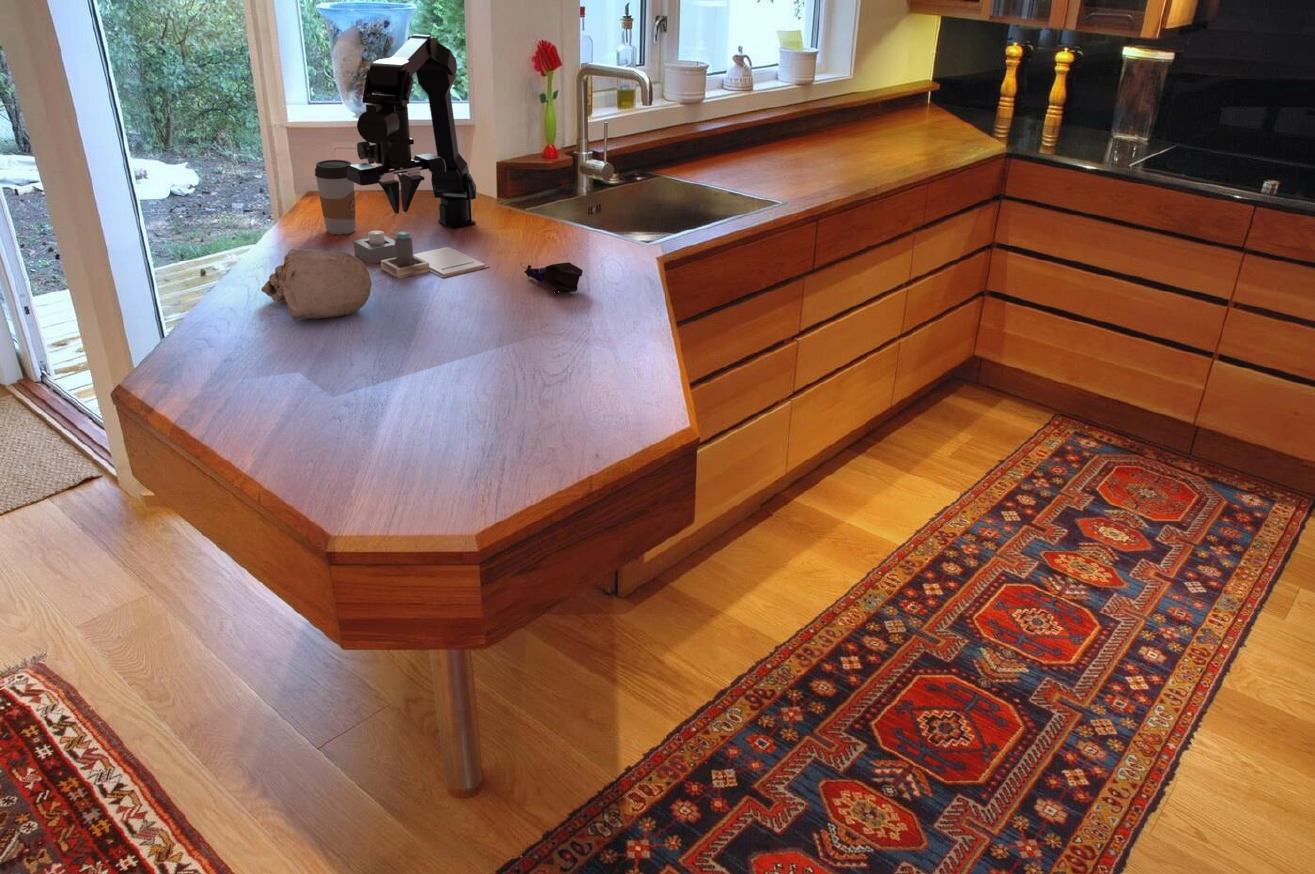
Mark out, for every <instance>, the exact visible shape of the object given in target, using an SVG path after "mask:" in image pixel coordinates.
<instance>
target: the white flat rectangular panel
mask: <svg viewBox="0 0 1315 874" xmlns="http://www.w3.org/2000/svg"><path fill="white" fill-rule="evenodd" d="M413 255H414V256H416V257H418V258H420V259H422V260H424V261H426V262H428V263H429V268H430V270H429V272H428V273H431V274H433V275H436V276H437V277H439V278H441V279H447V278H451V277H455V276H459V275H463V274H468V273H472V272H476V271H479V270H483V269H488V268H490V265H488V264H485V263H483V262H481V261H480V260H477V259H475V258H472V257H471V256H469V255H466V254H464V253H462V252H459V251H458V250H455V249H453V248H451V247H449V246H446V247H440V248H437V249H431V250H427V251H423V252H418V253H413Z"/></svg>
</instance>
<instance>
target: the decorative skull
mask: <svg viewBox="0 0 1315 874" xmlns="http://www.w3.org/2000/svg"><path fill="white" fill-rule="evenodd" d="M283 259H284V260H283V264H281V265H277V266H276V267H275V268H274V273H271V274H270V275H269V276H268V281H266V283H265V284H264V285H263V286H262V287H261V292H262V293H265V294H266V295H267V296H268V297H269V298H270V297H271V299H272V301H273V302H274V303H279V302H282V303H286V307H287V309H288V310H289V314H290V316H291V318H292V319H294V320H303V319H304V320H305V319H309V320H310V319H326V318H327V319H328V318H333V317H341V316H346V315H351V314H354V313H357V312H358V311H360V310H361V309H362V308H363V307H364V306H365V305H366V303H367V301H368V300H369V298H370V296H371V291H372V284H373V283H372V279H371V275H370V272H369V269H368V268H367V266H366V265H365V263H364V262H363V261H362V260H361V258H360V257H358V256H356V255H353V254H351V253H349V252H343V251H331V250H330V251H329V250H323V249H319V248H315V247H306V248H303V249H294V248H291V249H290V250H288V252H287V254H286V255H285V256H284V258H283Z"/></svg>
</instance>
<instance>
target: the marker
mask: <svg viewBox="0 0 1315 874" xmlns="http://www.w3.org/2000/svg"><path fill="white" fill-rule="evenodd" d="M394 241H395V250H396V262H397V267H399V268H402V267H407V266H411V265H414V259H413V254H414V249H413V248H414V247H413V238H412V237H411V236H410V232H407V231H399V232H396V234H395V237H394Z"/></svg>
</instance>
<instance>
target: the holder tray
mask: <svg viewBox="0 0 1315 874" xmlns="http://www.w3.org/2000/svg"><path fill="white" fill-rule="evenodd" d="M413 259H414V265H411V266H407V267H402V268H399V267H397V262H396V257H395V258H390V259H385V260H381V262H380V265H381V266H380V268H381V270H382V271H384V272H386V273H388V274H391V275H392V276H394V277H396V278H398V279H403V278H407V277H413V276H417V275H421V274H424V273H430V272H429V270H430V268H429V263H428V262H426V261H424V260H422V259H420V258H418V257H416V256H414V255H413Z"/></svg>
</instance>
